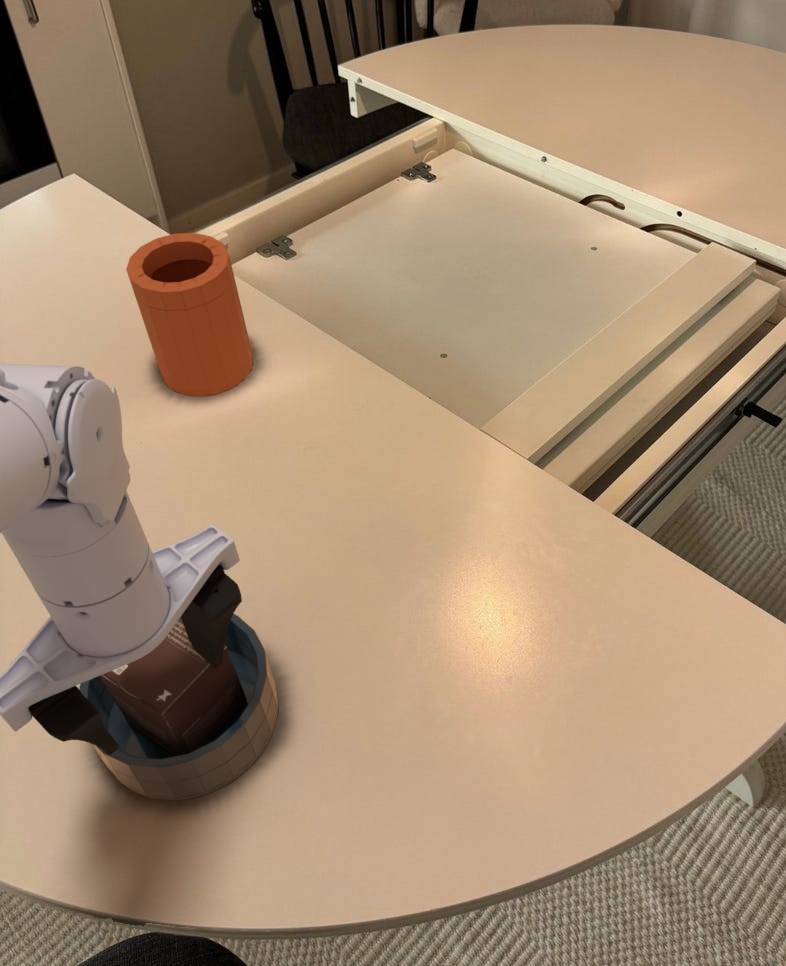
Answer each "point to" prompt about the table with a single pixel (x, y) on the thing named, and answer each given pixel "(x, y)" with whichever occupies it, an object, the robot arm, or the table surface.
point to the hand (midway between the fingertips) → (158, 697)
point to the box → (176, 694)
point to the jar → (192, 312)
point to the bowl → (211, 763)
